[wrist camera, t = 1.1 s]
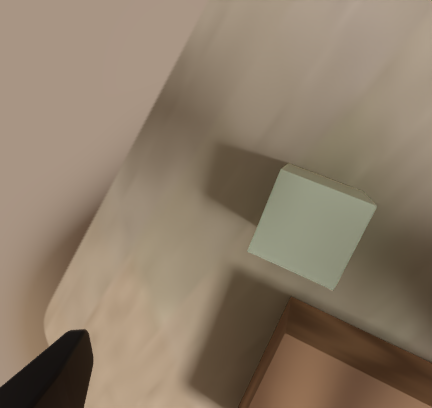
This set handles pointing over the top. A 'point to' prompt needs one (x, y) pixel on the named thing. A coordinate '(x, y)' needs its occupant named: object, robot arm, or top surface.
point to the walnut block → (334, 367)
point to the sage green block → (311, 225)
